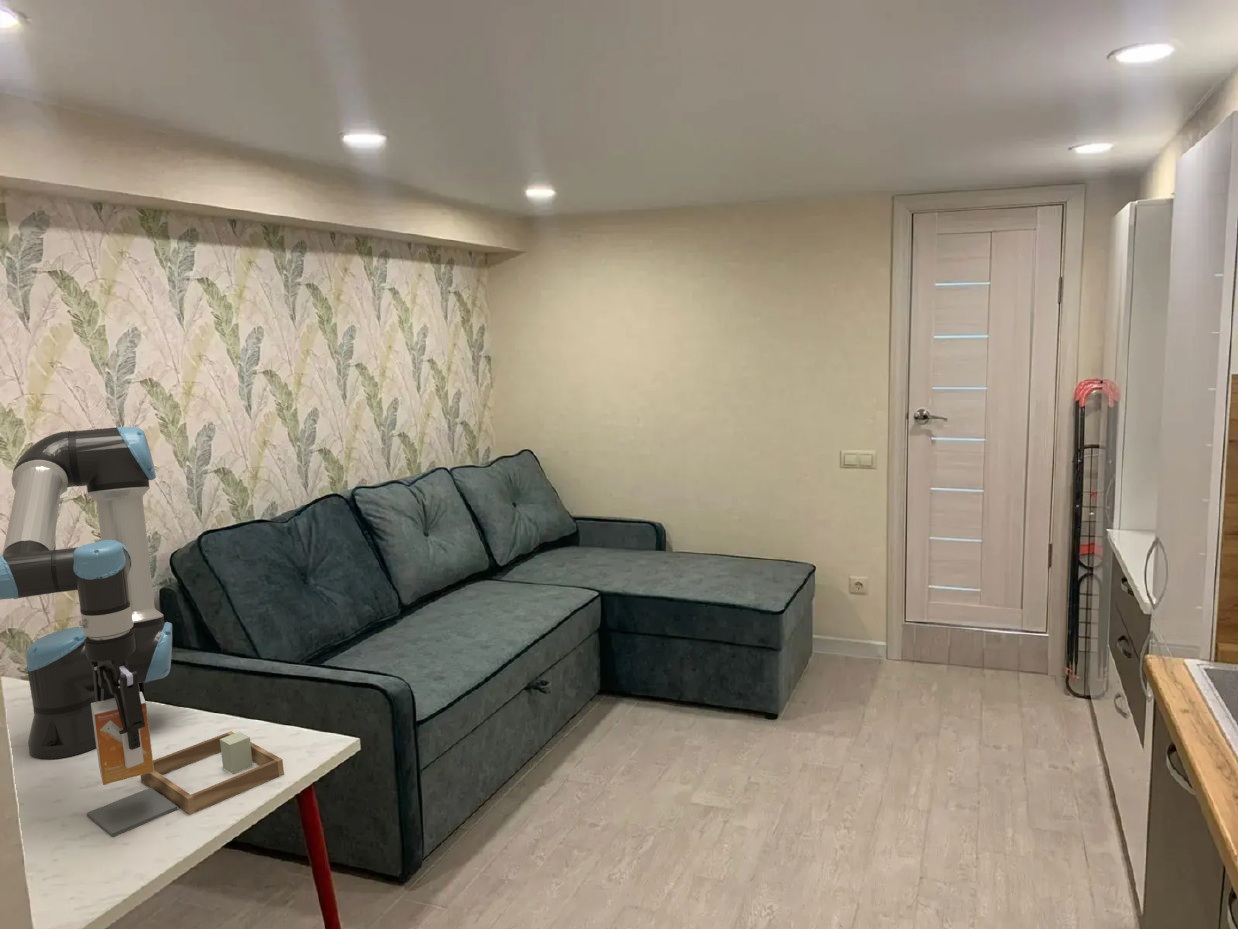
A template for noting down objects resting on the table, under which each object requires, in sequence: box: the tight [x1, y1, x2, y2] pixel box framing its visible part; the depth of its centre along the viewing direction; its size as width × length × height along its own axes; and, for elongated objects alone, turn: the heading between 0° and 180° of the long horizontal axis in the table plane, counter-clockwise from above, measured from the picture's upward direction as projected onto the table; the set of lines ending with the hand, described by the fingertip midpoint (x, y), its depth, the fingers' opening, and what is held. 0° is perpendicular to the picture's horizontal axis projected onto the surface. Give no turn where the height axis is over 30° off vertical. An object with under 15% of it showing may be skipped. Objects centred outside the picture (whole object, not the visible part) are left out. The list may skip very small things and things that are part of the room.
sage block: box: [220, 731, 254, 775], centre depth 179 cm, size 4×4×6 cm
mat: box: [86, 786, 179, 838], centre depth 164 cm, size 11×11×1 cm
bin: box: [140, 730, 285, 815], centre depth 175 cm, size 20×18×3 cm
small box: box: [91, 691, 154, 786], centre depth 161 cm, size 8×6×13 cm
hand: (125, 758), depth 162 cm, fingers closed on small box, 7 cm apart
